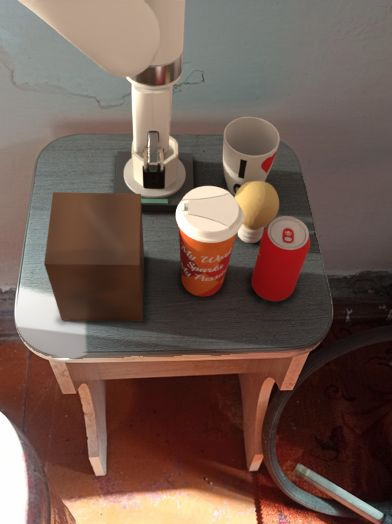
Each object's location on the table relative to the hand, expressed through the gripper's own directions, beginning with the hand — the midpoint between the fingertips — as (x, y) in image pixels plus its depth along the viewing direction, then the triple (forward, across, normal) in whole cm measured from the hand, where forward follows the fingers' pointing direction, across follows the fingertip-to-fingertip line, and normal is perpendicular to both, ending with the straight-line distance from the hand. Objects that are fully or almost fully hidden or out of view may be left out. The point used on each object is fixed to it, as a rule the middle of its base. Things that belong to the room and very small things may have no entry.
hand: (154, 163), depth 86 cm
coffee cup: (+4, +18, +7) cm, 20 cm away
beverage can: (+4, +19, +17) cm, 26 cm away
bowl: (+2, 0, 0) cm, 2 cm away
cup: (+4, 0, +14) cm, 15 cm away
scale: (+4, 0, 0) cm, 4 cm away
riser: (+4, +20, -7) cm, 22 cm away
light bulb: (+4, +10, +14) cm, 18 cm away
